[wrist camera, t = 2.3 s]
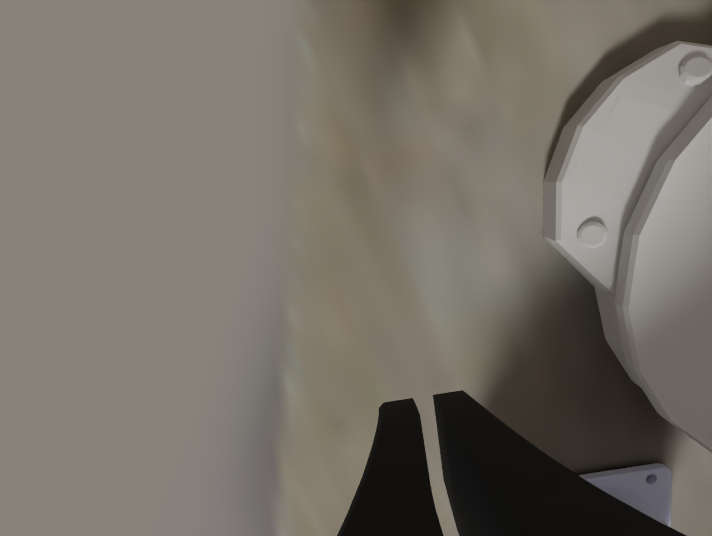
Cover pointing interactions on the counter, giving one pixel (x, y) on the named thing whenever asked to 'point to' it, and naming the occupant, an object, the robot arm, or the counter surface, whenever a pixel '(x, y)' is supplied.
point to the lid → (645, 223)
